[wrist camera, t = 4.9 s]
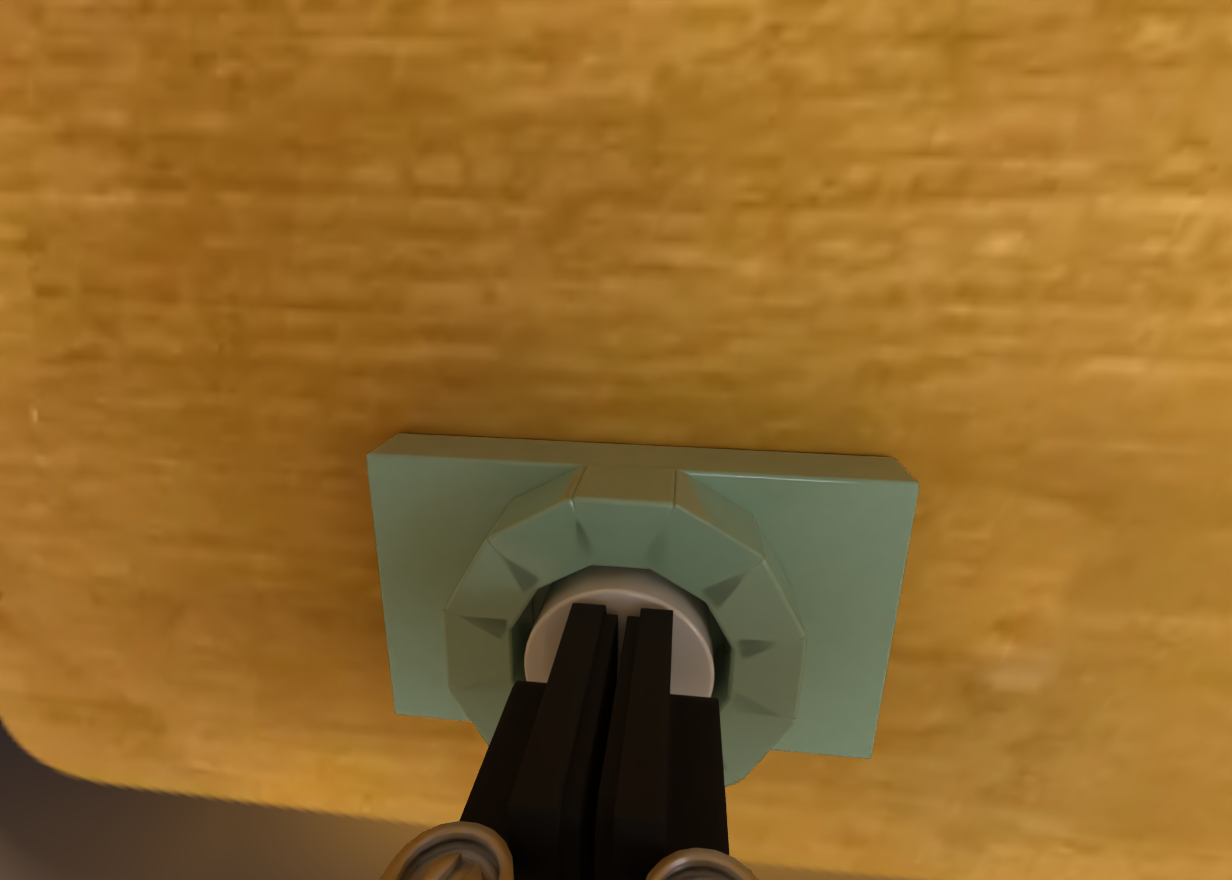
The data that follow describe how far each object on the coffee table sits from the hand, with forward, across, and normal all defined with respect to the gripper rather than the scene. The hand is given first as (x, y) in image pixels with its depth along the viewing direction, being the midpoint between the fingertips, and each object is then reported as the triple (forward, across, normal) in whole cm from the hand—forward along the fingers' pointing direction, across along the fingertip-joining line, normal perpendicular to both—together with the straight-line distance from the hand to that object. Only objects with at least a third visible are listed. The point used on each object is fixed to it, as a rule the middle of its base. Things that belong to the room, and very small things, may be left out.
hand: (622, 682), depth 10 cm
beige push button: (+2, 0, 0) cm, 2 cm away
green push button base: (+3, 0, 0) cm, 3 cm away
